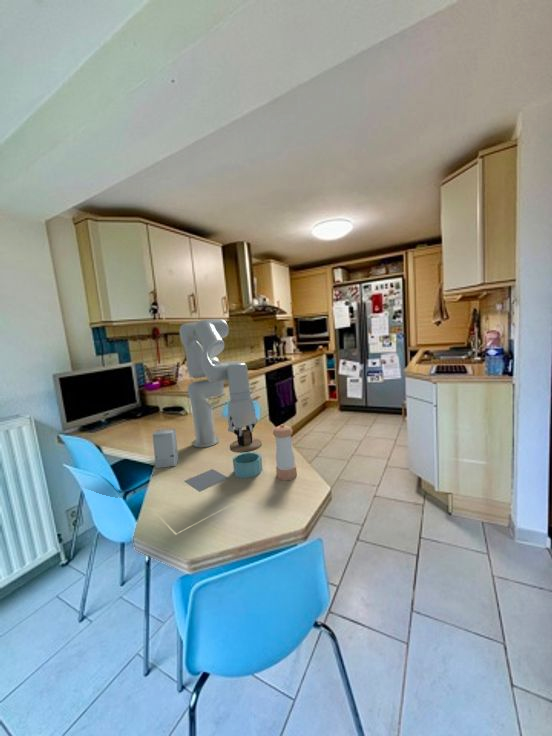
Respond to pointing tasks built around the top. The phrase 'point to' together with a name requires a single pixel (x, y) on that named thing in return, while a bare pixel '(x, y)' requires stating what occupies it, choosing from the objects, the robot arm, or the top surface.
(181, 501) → the top surface
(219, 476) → the mat
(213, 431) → the robot arm
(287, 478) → the salt shaker
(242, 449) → the lid
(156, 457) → the skincare box
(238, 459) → the bowl
